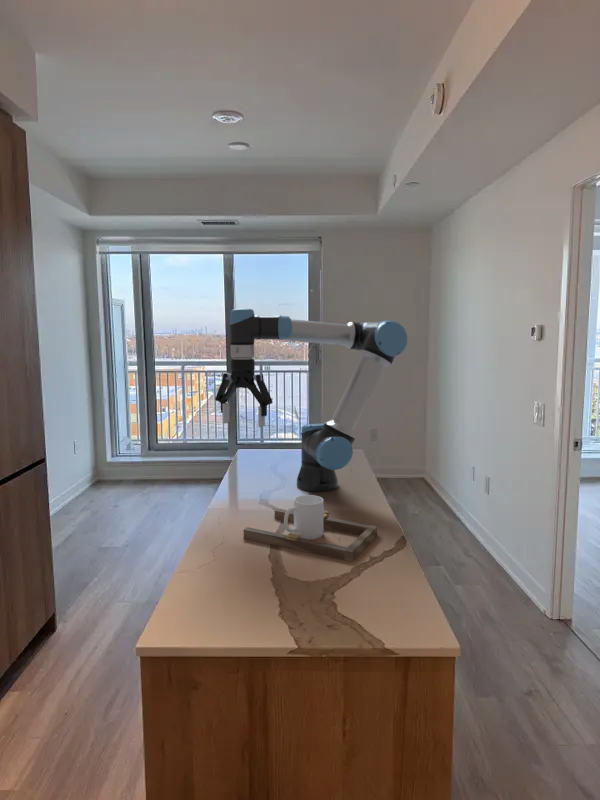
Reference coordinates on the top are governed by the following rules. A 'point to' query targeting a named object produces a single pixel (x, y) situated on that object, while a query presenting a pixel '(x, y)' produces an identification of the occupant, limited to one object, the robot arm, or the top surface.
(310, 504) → the cup
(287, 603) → the top surface
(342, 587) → the top surface
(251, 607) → the top surface
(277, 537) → the track
